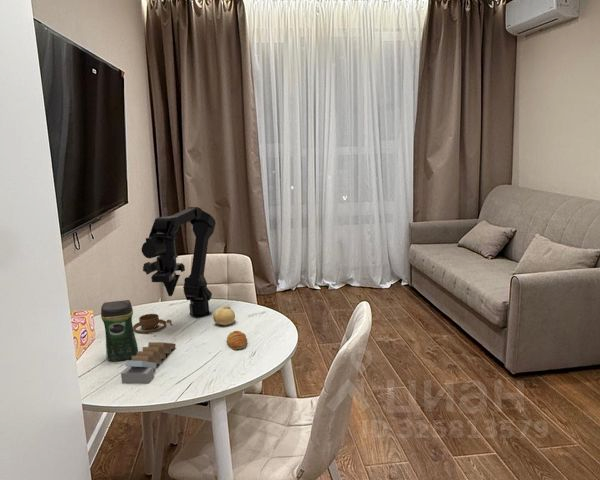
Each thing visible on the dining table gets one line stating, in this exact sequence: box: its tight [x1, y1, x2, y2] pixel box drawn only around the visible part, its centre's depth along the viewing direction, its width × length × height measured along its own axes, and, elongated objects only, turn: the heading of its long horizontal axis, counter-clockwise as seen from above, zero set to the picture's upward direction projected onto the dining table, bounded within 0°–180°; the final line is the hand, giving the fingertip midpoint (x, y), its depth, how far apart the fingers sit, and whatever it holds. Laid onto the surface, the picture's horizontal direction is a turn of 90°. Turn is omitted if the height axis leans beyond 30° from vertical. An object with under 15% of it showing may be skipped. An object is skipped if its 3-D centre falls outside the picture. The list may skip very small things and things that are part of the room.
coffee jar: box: [100, 299, 139, 362], centre depth 171 cm, size 10×8×19 cm
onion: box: [212, 304, 236, 327], centre depth 197 cm, size 8×8×7 cm
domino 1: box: [124, 360, 158, 370], centre depth 157 cm, size 2×5×10 cm
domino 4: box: [142, 346, 172, 355], centre depth 169 cm, size 2×5×10 cm
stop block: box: [120, 366, 155, 384], centre depth 155 cm, size 4×8×3 cm, turn 82°
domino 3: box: [136, 350, 167, 360], centre depth 165 cm, size 2×5×10 cm
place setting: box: [133, 313, 174, 335], centre depth 200 cm, size 18×20×6 cm
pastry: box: [225, 330, 248, 351], centre depth 177 cm, size 9×7×4 cm
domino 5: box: [147, 341, 176, 350], centre depth 173 cm, size 2×5×10 cm
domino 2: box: [130, 355, 162, 365], centre depth 161 cm, size 2×5×10 cm
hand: (170, 296), depth 190 cm, fingers closed
